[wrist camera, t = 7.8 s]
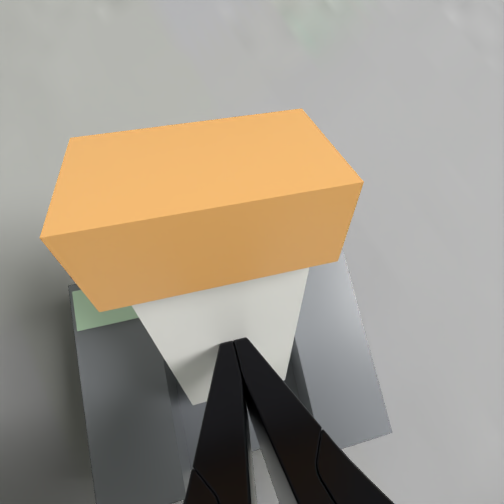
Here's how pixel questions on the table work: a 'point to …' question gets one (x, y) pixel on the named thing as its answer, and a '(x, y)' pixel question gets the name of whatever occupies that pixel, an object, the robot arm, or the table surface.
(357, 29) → the table surface
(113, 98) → the table surface
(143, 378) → the switch housing
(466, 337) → the table surface
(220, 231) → the switch lever
